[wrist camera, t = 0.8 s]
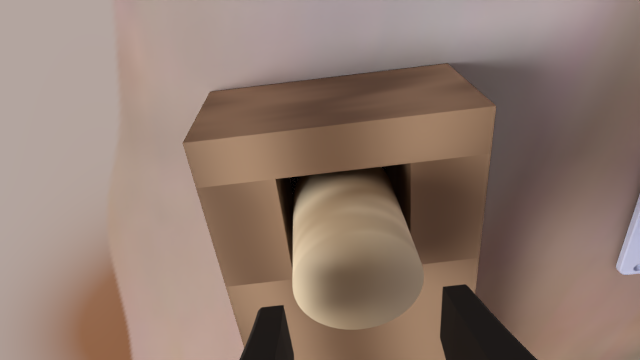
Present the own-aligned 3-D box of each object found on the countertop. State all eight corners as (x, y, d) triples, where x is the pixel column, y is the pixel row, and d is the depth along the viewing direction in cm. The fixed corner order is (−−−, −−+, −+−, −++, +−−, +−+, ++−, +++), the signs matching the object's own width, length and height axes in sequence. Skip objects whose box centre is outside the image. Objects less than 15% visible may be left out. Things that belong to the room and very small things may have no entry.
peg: (391, 148, 16) (425, 224, 12) (393, 232, 18) (423, 322, 14) (286, 160, 16) (283, 240, 12) (300, 243, 18) (301, 335, 14)
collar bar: (447, 63, 18) (496, 106, 13) (433, 365, 28) (458, 445, 24) (210, 91, 18) (182, 143, 13) (282, 382, 28) (279, 464, 24)
